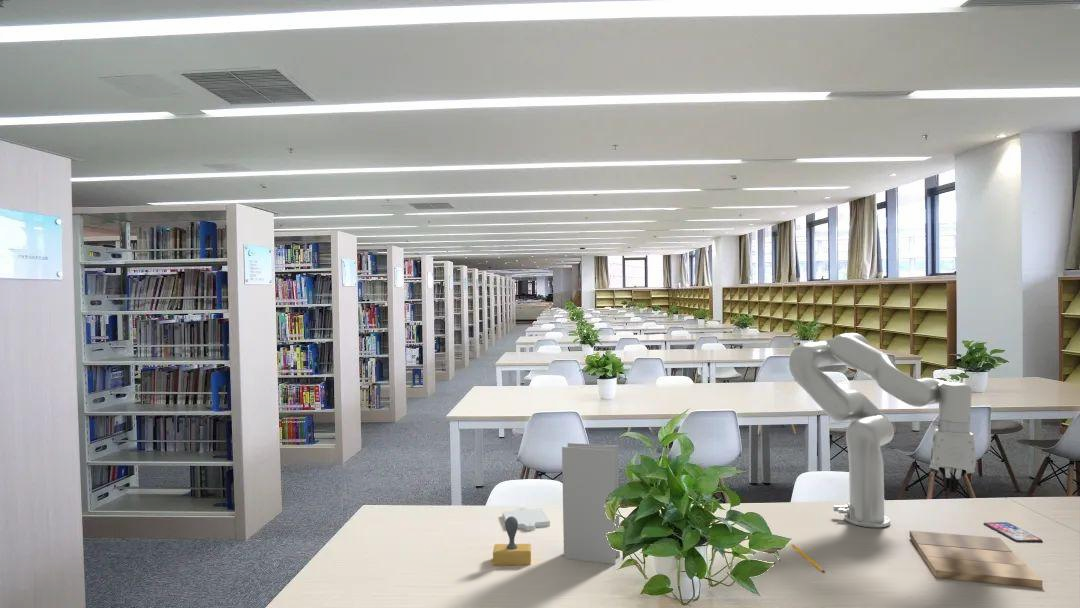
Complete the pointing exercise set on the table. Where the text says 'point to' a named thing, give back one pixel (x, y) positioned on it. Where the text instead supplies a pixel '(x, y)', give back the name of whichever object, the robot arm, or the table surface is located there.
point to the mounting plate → (528, 518)
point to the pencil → (808, 559)
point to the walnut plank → (958, 541)
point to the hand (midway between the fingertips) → (951, 491)
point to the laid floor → (978, 565)
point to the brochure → (588, 501)
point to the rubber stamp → (512, 548)
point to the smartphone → (1012, 532)
